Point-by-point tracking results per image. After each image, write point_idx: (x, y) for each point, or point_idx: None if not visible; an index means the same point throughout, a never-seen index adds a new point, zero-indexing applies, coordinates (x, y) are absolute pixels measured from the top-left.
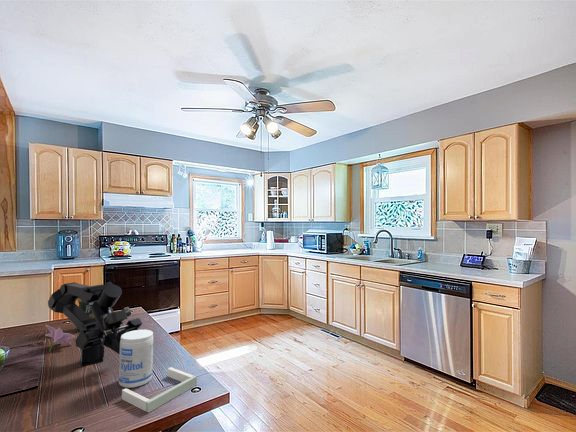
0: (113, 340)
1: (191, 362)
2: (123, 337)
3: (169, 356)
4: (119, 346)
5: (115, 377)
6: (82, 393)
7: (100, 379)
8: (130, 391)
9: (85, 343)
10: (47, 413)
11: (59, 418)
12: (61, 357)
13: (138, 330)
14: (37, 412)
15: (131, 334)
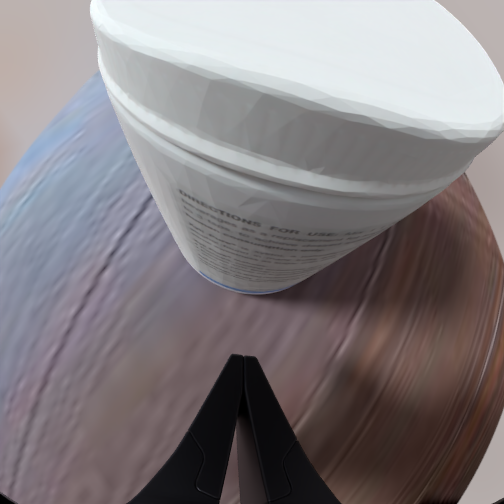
0: (318, 497)
1: (42, 137)
2: (487, 63)
3: (2, 268)
4: (260, 414)
5: (268, 353)
6: (414, 343)
7: (313, 401)
8: None
9: (501, 499)
10: (488, 313)
11: (483, 257)
12: None
13: (165, 3)
14: (493, 343)
15: (390, 10)
